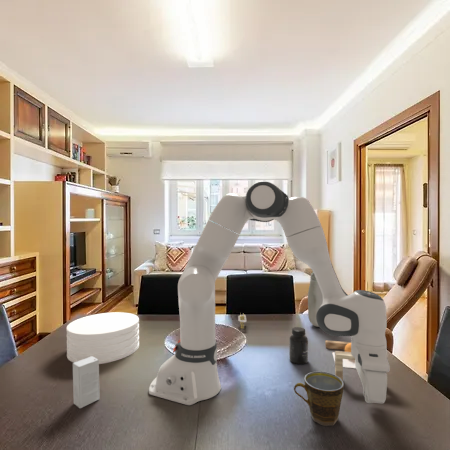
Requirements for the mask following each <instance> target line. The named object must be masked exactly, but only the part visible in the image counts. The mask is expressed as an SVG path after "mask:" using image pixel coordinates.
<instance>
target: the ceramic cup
mask: <svg viewBox="0 0 450 450" xmlns="http://www.w3.org/2000/svg"><path fill="white" fill-rule="evenodd" d="M303 381H304V383H303V382H297V383H296V384H295V385H294V387H293V390H294V393H295V394H296V395H297V396H299V397H300V398H301V399H302V400H303V401H304V402H306V403H307V405H308V408H309V412H310V413H309V414H310V417H311V419H312V420H313V422H315V423H317V424H319V425H321V426H324V427H325V426H334V425H335V424H336V423H337V421H339V415H340V409H341V404H342V398H343V396H344V395H343V393H344V389H345V383H344V380H343V381H342V380H341V379H340V378H339V377H338V376H336V375H335V373H330V372H327V371H318V370H317V371H312V372H308V373H307V374H305V375H304V380H303ZM297 387H301V388H303V389H304V391H305V392H306V396H307V399H305V397H304V396H303V395H301V394H300V393H299V392H297V390H296V389H297Z"/></svg>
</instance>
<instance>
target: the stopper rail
mask: <svg viewBox="0 0 450 450" xmlns="http://www.w3.org/2000/svg"><path fill="white" fill-rule="evenodd" d="M348 343H351V341H340V340H339V341H337V340H326V339H325V346H324V347H325V348H326V349H329V350H330V349H331V350H332V349H333V350H341V351H345V346H346V345H347V344H348Z"/></svg>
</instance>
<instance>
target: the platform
mask: <svg viewBox="0 0 450 450" xmlns="http://www.w3.org/2000/svg"><path fill="white" fill-rule="evenodd" d="M237 318H238V320H237V321H238V322H240V329H245V323H247V315H246V314H244V313H242V314H241V312H240V315H237Z"/></svg>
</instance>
